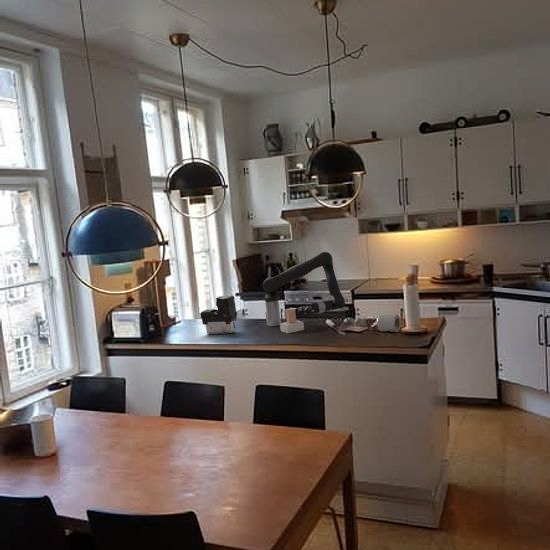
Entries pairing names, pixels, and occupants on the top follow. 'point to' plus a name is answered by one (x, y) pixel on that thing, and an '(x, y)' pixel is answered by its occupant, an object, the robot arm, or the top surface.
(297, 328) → the white square socket block
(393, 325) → the toilet paper
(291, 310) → the tall brown pillar
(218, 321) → the bill acceptor
